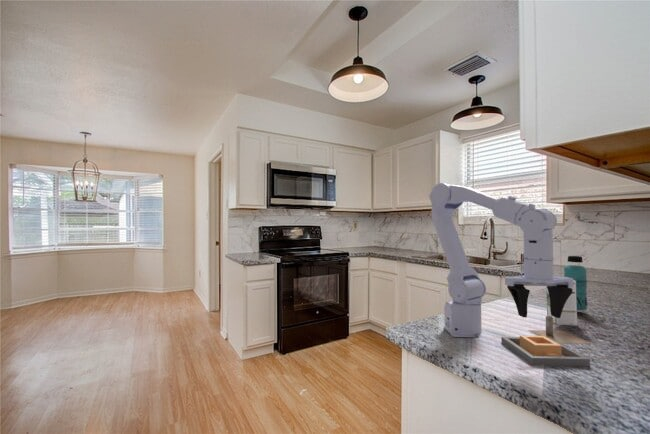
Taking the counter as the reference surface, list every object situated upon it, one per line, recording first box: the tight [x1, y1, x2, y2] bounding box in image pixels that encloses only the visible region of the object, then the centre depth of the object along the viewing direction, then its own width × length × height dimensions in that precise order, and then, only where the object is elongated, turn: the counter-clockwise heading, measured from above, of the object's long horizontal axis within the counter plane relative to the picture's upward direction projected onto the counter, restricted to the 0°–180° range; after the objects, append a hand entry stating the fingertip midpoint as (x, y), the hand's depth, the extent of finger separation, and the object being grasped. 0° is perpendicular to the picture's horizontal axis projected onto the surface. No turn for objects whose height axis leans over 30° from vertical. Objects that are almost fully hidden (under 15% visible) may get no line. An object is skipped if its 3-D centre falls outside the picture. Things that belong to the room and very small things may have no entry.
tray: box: [501, 336, 591, 371], centre depth 70 cm, size 12×12×2 cm
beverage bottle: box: [563, 255, 588, 311], centre depth 106 cm, size 6×7×20 cm
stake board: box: [528, 315, 592, 345], centre depth 80 cm, size 10×9×6 cm
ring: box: [519, 335, 563, 357], centre depth 70 cm, size 7×6×3 cm
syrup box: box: [545, 280, 578, 326], centre depth 92 cm, size 6×6×14 cm
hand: (539, 316), depth 71 cm, fingers open, 7 cm apart
